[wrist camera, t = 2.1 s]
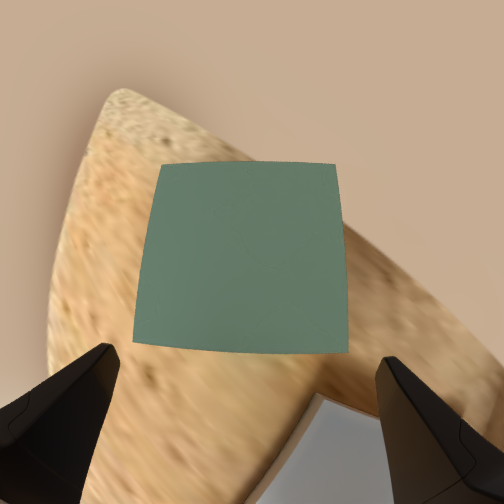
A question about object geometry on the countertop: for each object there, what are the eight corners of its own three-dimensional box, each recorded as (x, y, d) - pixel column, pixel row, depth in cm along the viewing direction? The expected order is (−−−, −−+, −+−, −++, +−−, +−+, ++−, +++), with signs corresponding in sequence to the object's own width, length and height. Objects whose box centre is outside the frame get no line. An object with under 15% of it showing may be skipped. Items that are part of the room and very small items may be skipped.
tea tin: (293, 352, 18) (348, 352, 6) (218, 349, 18) (130, 341, 6) (294, 280, 20) (335, 164, 7) (222, 278, 20) (159, 164, 8)
